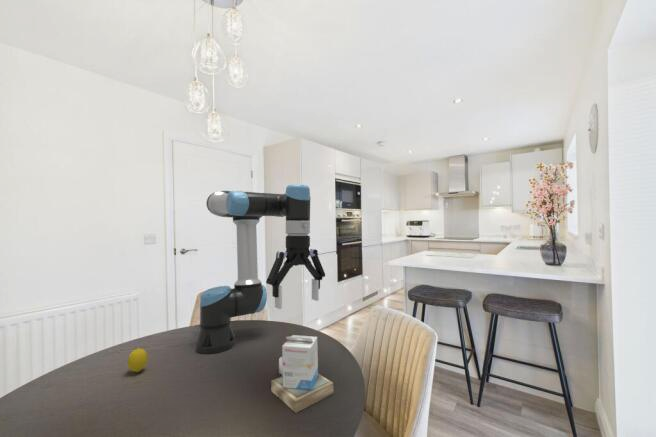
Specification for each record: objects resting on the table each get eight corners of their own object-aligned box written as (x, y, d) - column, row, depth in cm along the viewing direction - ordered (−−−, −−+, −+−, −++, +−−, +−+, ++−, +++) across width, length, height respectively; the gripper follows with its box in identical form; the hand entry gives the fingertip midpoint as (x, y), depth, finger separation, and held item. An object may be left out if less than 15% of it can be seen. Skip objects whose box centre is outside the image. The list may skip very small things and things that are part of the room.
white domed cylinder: (274, 370, 94) (274, 358, 95) (292, 363, 99) (292, 352, 99) (286, 379, 89) (286, 366, 89) (304, 371, 94) (304, 359, 94)
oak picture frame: (271, 391, 82) (271, 379, 82) (306, 375, 91) (306, 365, 91) (295, 413, 72) (295, 400, 73) (333, 393, 81) (333, 382, 81)
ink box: (318, 375, 85) (318, 330, 85) (311, 391, 77) (311, 341, 77) (291, 372, 87) (291, 328, 87) (281, 387, 78) (281, 339, 79)
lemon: (150, 370, 95) (151, 346, 96) (133, 378, 90) (134, 353, 91) (140, 367, 98) (141, 343, 98) (123, 374, 93) (124, 350, 93)
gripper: (267, 236, 76) (266, 315, 75) (335, 234, 92) (335, 299, 91) (255, 235, 82) (254, 308, 81) (321, 233, 98) (321, 294, 97)
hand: (297, 303), depth 86 cm, fingers open, 13 cm apart
